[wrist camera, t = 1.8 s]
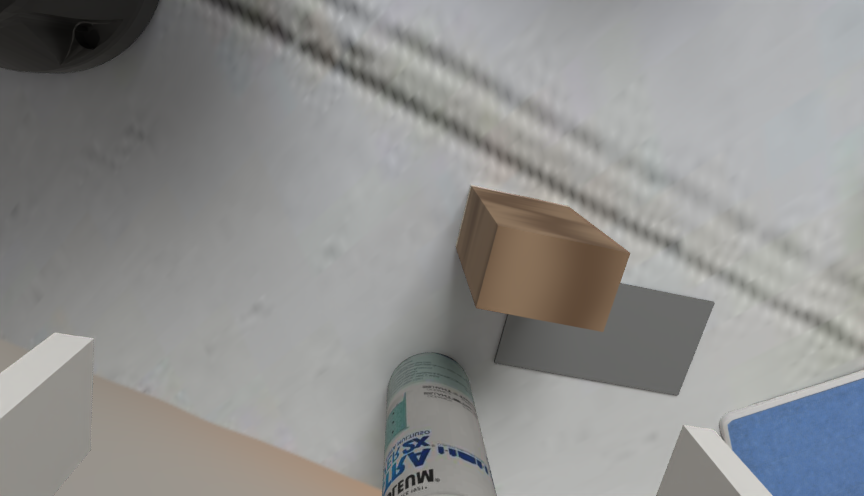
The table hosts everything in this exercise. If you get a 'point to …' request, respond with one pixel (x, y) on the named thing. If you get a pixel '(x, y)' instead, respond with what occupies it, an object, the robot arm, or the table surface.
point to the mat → (615, 342)
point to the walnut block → (538, 260)
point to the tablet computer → (804, 439)
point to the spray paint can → (433, 432)
